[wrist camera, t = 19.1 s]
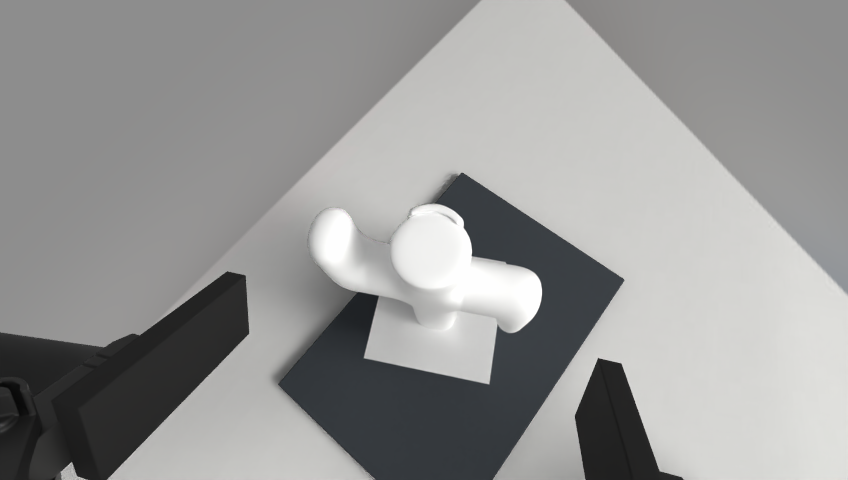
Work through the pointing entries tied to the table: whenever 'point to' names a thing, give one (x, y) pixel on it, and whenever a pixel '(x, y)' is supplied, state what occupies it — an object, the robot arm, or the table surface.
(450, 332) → the figurine
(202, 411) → the table surface
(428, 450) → the mat
